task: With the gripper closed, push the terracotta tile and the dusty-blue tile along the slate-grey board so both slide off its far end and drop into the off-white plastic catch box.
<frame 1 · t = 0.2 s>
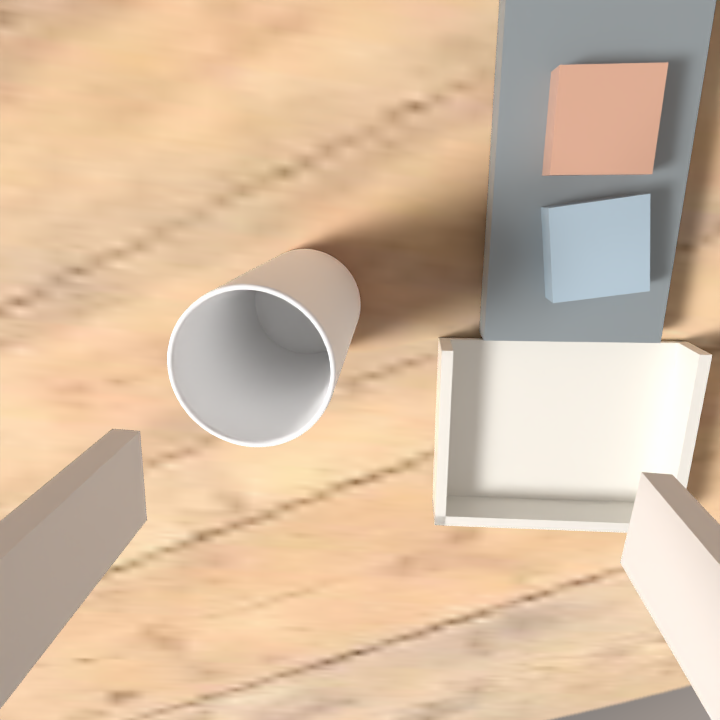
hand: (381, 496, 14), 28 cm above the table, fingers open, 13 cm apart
catch box: (551, 425, 43), on the table
blue tile: (589, 247, 36), point 2 cm above the table, touching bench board
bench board: (578, 176, 37), on the table
cup: (307, 303, 42), on the table
terracotta tile: (595, 124, 34), point 2 cm above the table, touching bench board
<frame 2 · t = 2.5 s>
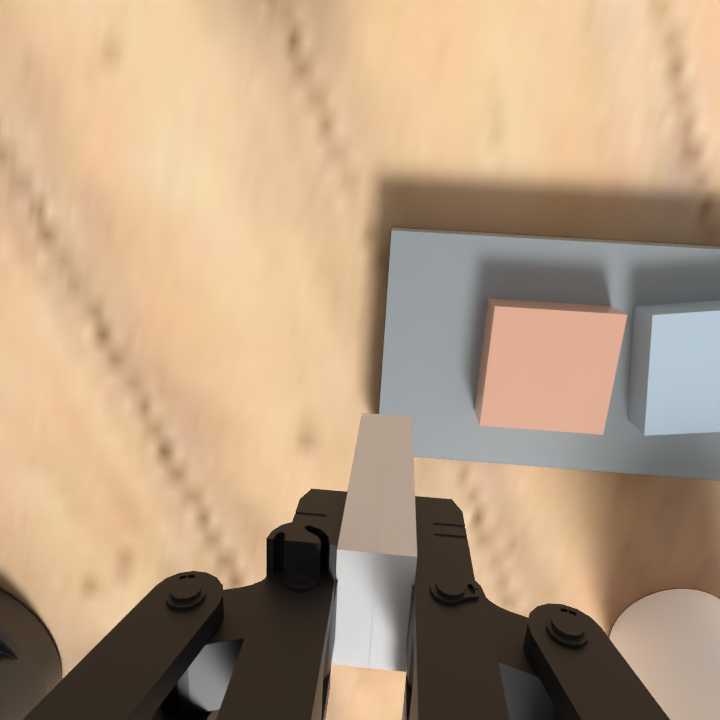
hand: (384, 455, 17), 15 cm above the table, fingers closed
blue tile: (693, 360, 27), point 2 cm above the table, touching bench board
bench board: (583, 350, 30), on the table
cup: (672, 638, 36), on the table
terracotta tile: (540, 359, 28), point 2 cm above the table, touching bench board
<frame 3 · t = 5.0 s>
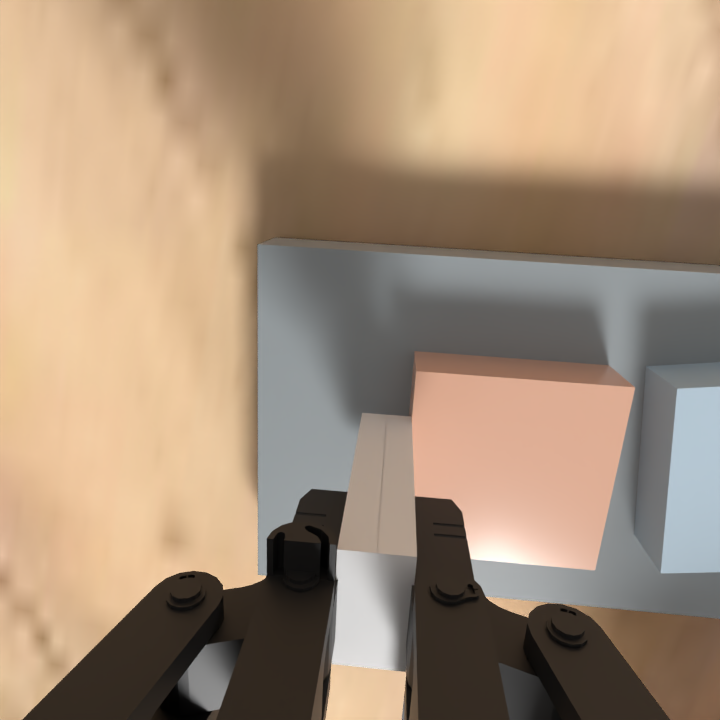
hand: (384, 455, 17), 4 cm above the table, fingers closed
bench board: (568, 421, 20), on the table
terracotta tile: (498, 445, 18), point 2 cm above the table, touching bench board, gripper
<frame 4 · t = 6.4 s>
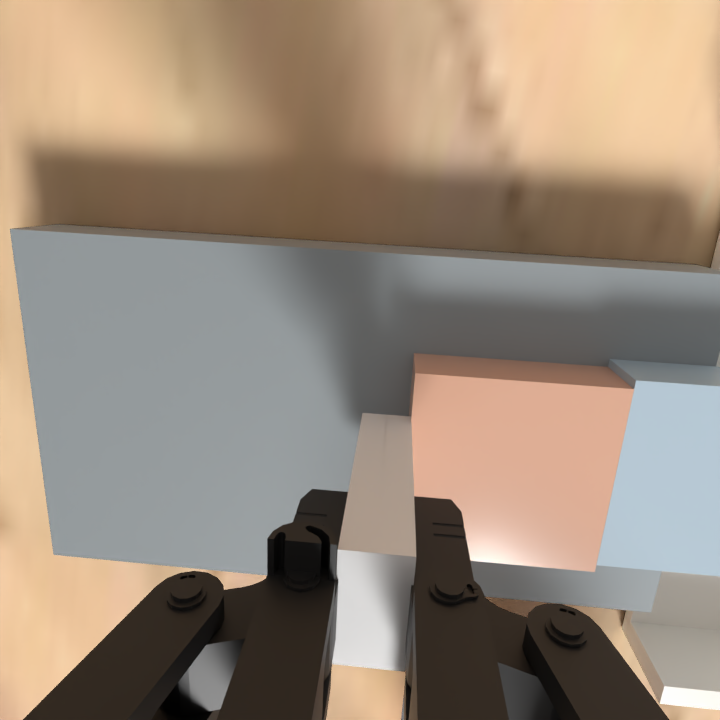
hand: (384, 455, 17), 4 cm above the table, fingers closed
blue tile: (687, 454, 18), point 3 cm above the table, touching terracotta tile
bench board: (357, 405, 21), on the table
terracotta tile: (497, 446, 18), point 3 cm above the table, touching blue tile, gripper
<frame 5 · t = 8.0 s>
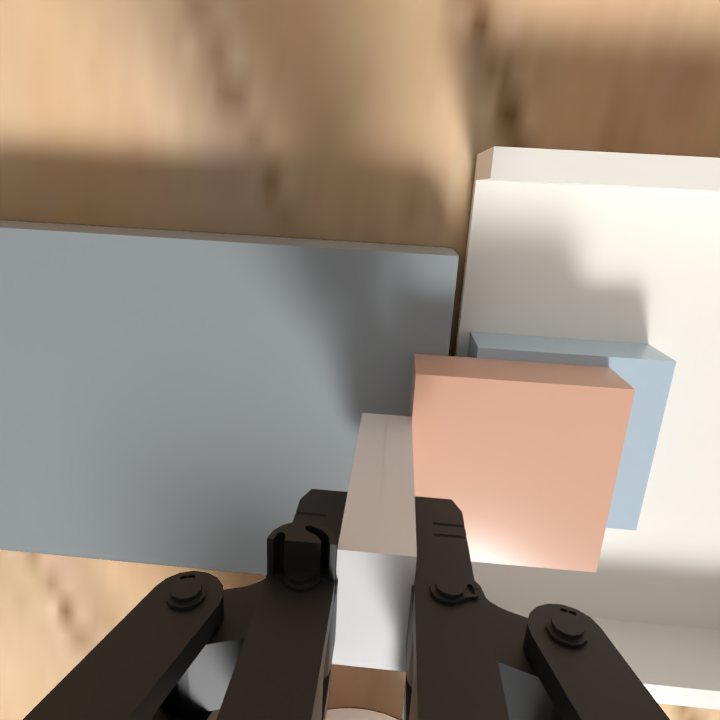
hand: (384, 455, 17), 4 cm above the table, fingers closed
catch box: (640, 426, 20), on the table
blue tile: (545, 418, 20), resting on catch box, touching terracotta tile
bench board: (147, 388, 21), on the table
terracotta tile: (498, 447, 18), point 2 cm above the table, touching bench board, blue tile, gripper
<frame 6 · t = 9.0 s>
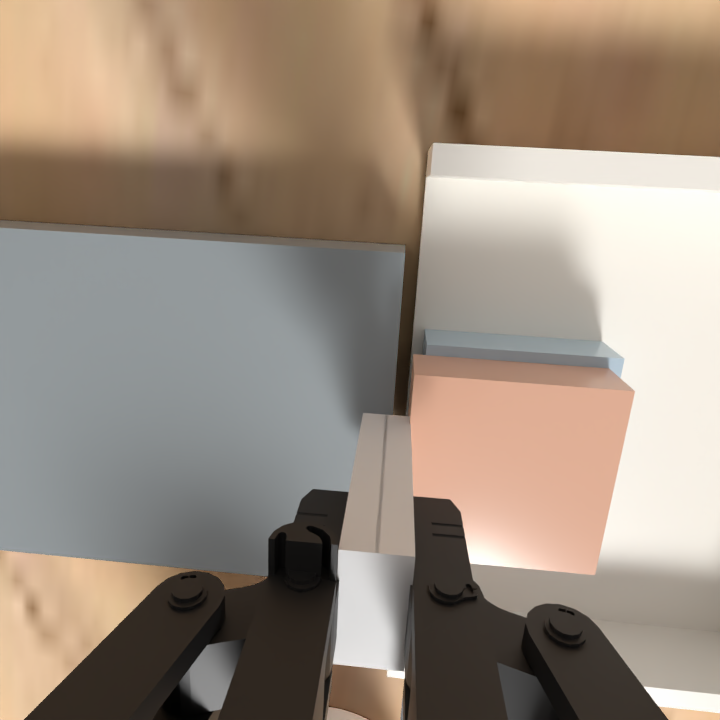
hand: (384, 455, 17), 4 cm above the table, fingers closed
catch box: (598, 424, 20), on the table
blue tile: (501, 415, 20), resting on catch box, touching terracotta tile
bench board: (107, 385, 21), on the table
terracotta tile: (497, 448, 18), point 2 cm above the table, touching blue tile, gripper
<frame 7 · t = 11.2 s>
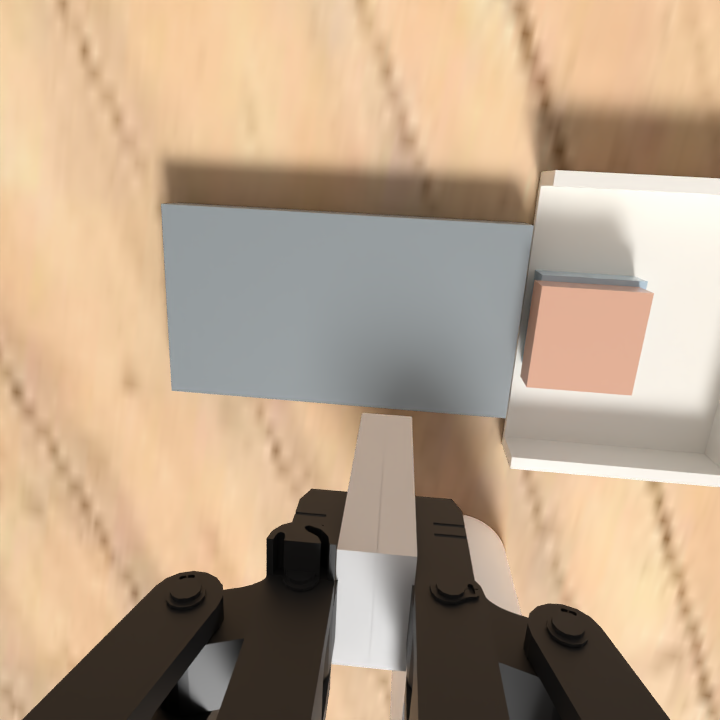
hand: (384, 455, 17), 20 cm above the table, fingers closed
catch box: (631, 326, 35), on the table
blue tile: (576, 320, 35), resting on catch box, touching terracotta tile
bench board: (343, 306, 36), on the table
cup: (450, 558, 42), on the table
terracotta tile: (577, 333, 33), point 2 cm above the table, touching blue tile
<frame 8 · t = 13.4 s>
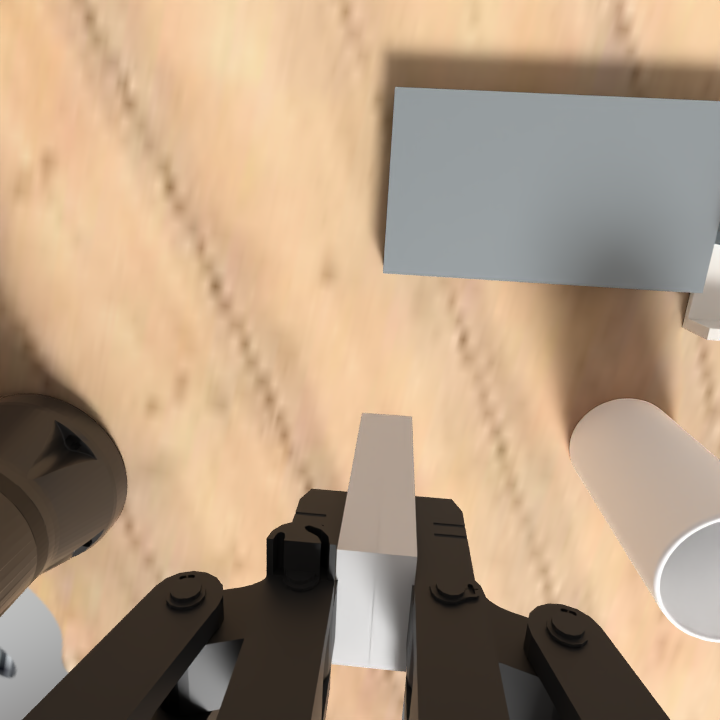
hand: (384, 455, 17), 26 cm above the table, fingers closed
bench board: (544, 193, 39), on the table
cup: (620, 444, 44), on the table
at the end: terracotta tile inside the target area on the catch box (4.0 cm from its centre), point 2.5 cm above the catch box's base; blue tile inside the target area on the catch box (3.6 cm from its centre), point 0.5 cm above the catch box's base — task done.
